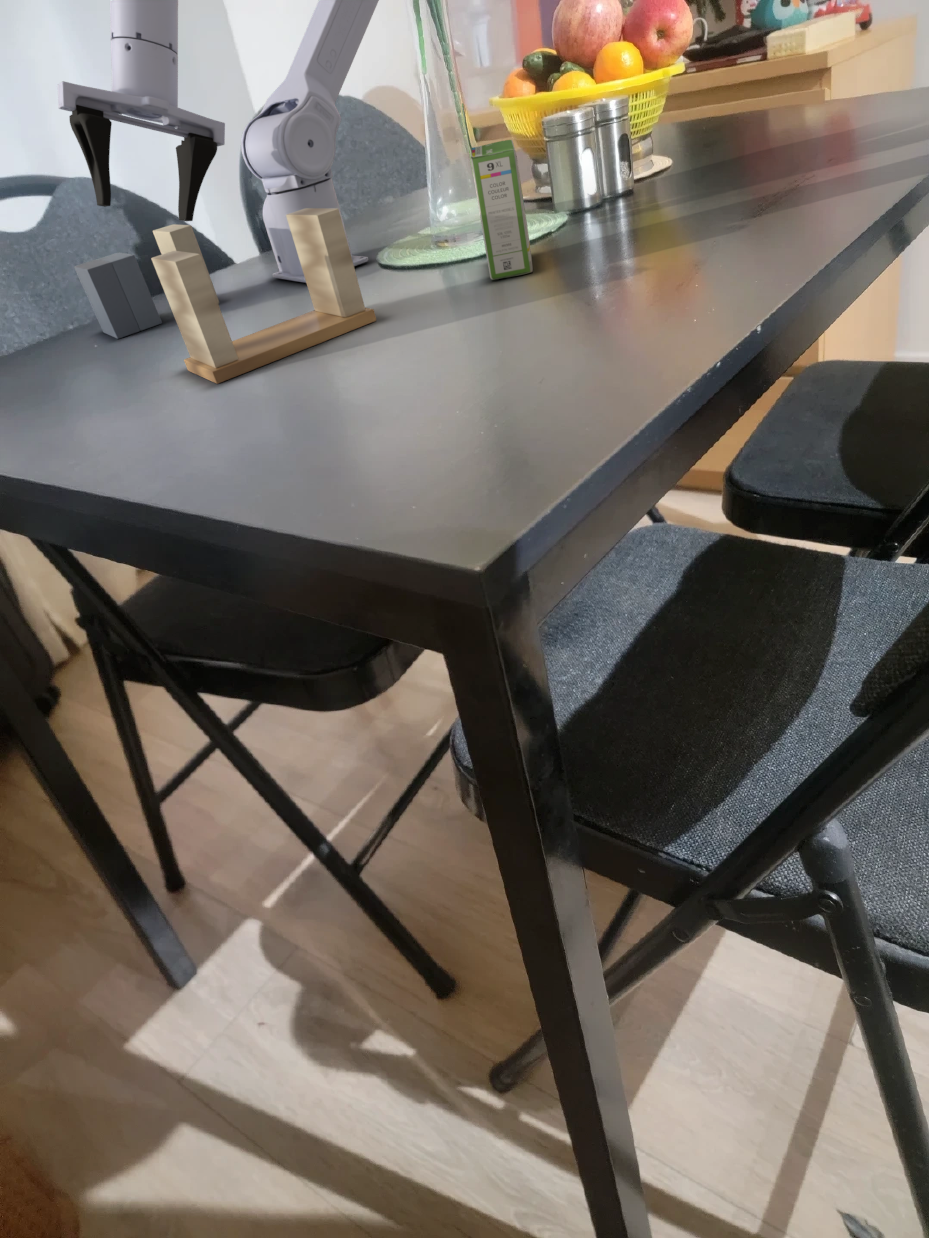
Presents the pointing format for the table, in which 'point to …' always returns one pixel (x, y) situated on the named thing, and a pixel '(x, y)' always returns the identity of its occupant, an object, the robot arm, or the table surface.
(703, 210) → the table surface
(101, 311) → the grey books
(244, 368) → the book rack
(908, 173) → the table surface
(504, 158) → the ink box
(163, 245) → the cream book
